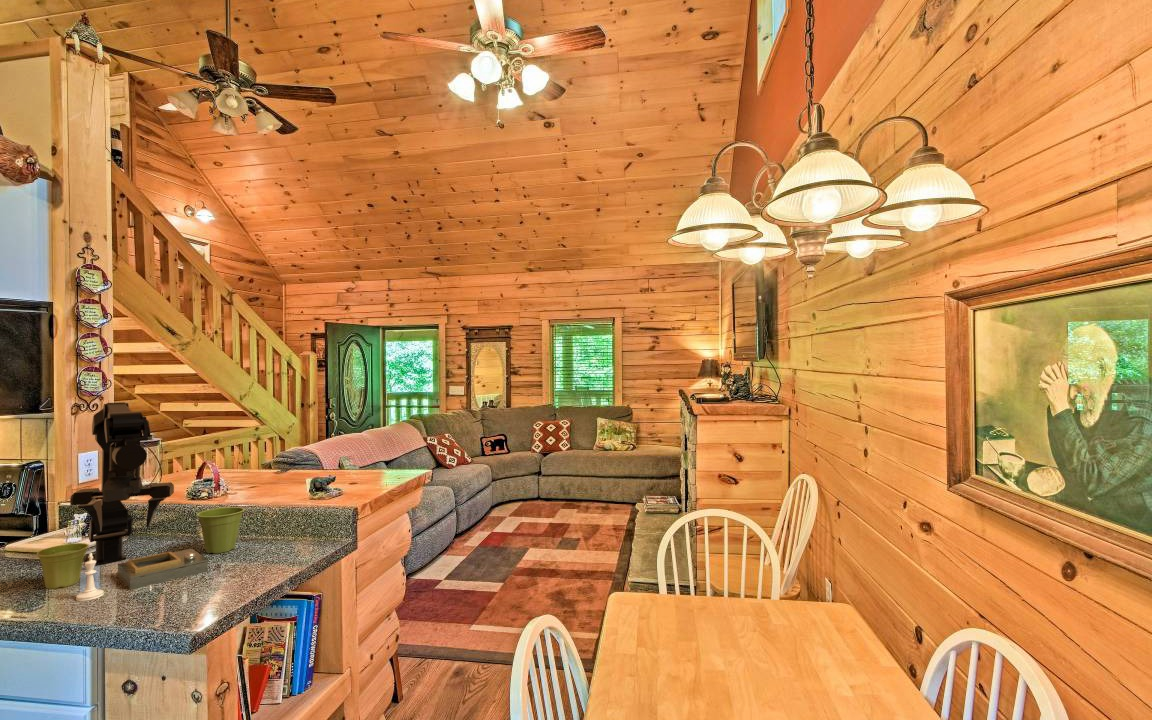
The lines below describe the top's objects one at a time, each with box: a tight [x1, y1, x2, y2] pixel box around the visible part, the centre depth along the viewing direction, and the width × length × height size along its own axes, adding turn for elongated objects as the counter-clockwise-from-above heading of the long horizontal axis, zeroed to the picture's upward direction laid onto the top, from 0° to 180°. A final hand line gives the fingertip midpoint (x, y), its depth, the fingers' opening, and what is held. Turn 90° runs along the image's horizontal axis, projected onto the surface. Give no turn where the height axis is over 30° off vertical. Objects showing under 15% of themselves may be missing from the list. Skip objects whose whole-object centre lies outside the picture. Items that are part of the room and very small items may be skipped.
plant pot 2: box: [196, 506, 246, 554], centre depth 161 cm, size 12×12×11 cm
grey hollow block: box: [117, 548, 209, 590], centre depth 142 cm, size 14×16×5 cm
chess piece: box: [75, 552, 105, 602], centre depth 128 cm, size 5×5×10 cm
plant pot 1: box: [36, 542, 90, 590], centre depth 135 cm, size 9×9×9 cm
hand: (124, 529), depth 133 cm, fingers open, 9 cm apart
